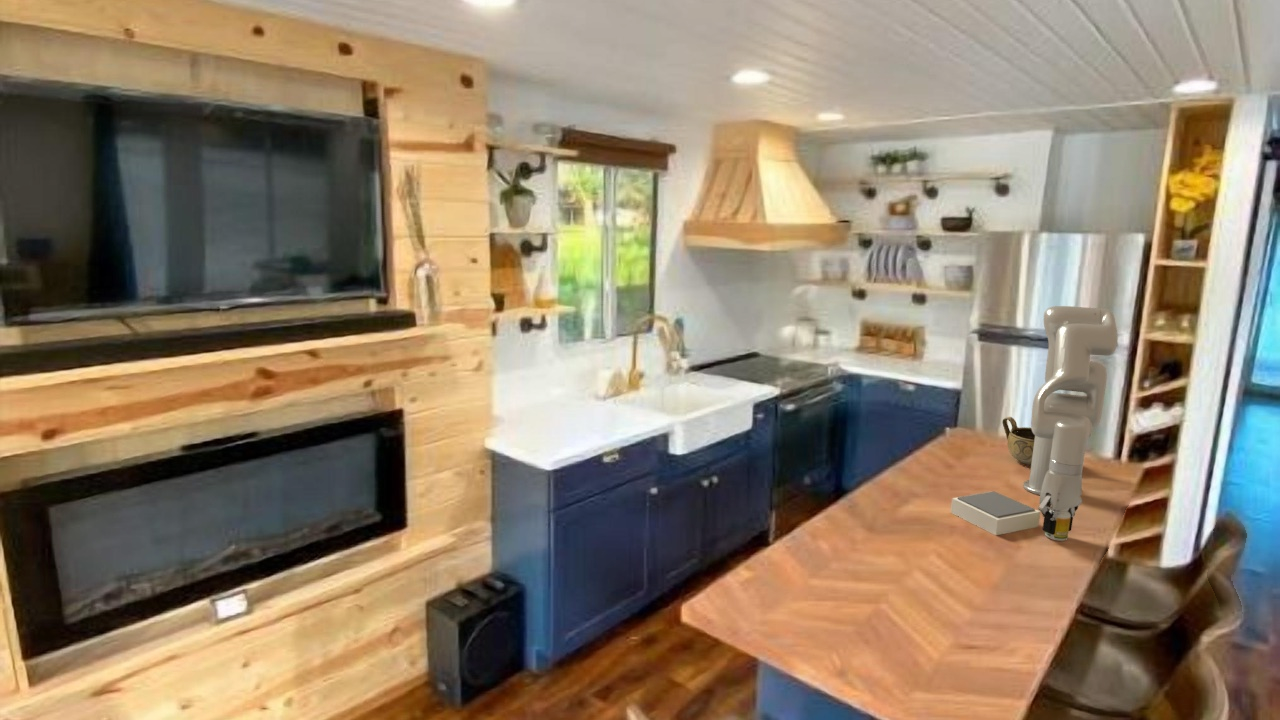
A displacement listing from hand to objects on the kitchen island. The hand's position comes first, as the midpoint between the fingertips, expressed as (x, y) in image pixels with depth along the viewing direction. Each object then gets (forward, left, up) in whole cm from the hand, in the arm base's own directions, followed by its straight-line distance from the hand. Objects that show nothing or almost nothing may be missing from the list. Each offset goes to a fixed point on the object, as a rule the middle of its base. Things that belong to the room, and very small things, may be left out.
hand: (1056, 529), depth 192 cm
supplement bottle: (0, 0, -2) cm, 2 cm away
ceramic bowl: (-46, -46, -2) cm, 65 cm away
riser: (+6, -15, -2) cm, 16 cm away
